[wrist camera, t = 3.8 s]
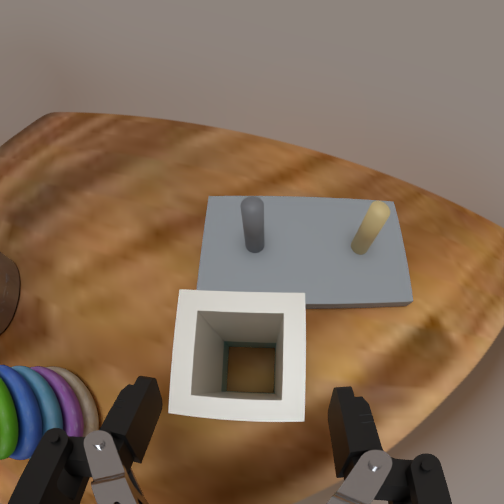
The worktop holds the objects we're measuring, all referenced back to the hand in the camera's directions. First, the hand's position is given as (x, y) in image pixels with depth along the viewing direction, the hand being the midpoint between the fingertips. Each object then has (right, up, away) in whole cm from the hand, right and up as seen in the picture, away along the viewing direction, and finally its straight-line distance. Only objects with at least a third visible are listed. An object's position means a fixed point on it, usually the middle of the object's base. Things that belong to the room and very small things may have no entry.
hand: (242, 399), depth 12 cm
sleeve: (0, -2, +7) cm, 7 cm away
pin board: (+5, +6, +11) cm, 13 cm away
